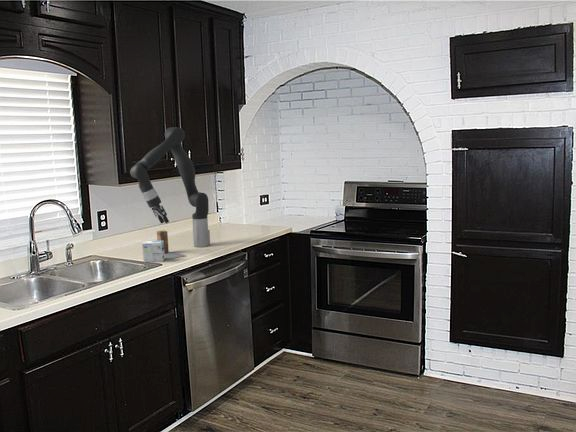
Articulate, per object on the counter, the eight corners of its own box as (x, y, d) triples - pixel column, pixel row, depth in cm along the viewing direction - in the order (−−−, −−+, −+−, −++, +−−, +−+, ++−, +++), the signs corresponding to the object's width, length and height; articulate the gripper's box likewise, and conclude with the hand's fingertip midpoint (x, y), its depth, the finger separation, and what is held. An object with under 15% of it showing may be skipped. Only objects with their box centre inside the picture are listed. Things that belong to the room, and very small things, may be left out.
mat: (175, 252, 332) (175, 252, 332) (186, 256, 321) (186, 255, 321) (156, 255, 325) (156, 255, 325) (167, 259, 314) (167, 259, 314)
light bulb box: (165, 259, 316) (163, 240, 314) (162, 261, 309) (161, 242, 308) (145, 259, 316) (144, 240, 314) (143, 262, 309) (141, 243, 307)
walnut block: (165, 252, 334) (163, 230, 332) (168, 253, 330) (167, 231, 328) (158, 253, 331) (156, 231, 329) (161, 254, 328) (160, 232, 326)
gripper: (161, 194, 316) (174, 219, 320) (153, 195, 328) (166, 219, 332) (149, 200, 312) (163, 226, 316) (142, 201, 325) (155, 225, 328)
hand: (165, 222), depth 324 cm, fingers open, 8 cm apart
